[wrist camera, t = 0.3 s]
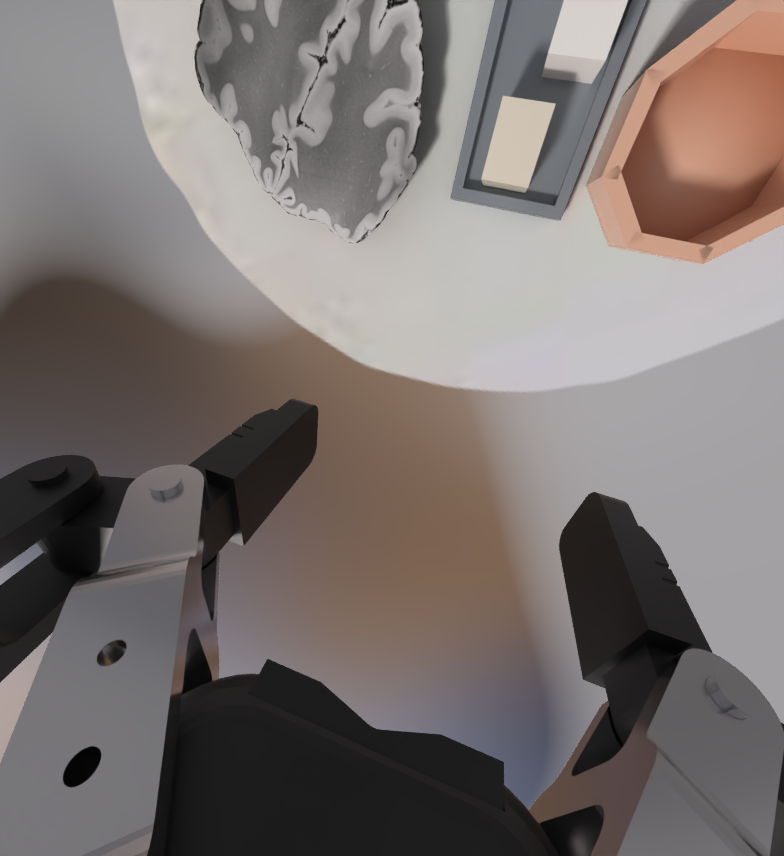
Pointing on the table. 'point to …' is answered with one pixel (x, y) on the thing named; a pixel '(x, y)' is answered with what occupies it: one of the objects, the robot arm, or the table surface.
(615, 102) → the table surface
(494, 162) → the stone
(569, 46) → the stone
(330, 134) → the brain slice
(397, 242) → the table surface
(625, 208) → the bowl
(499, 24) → the tray
